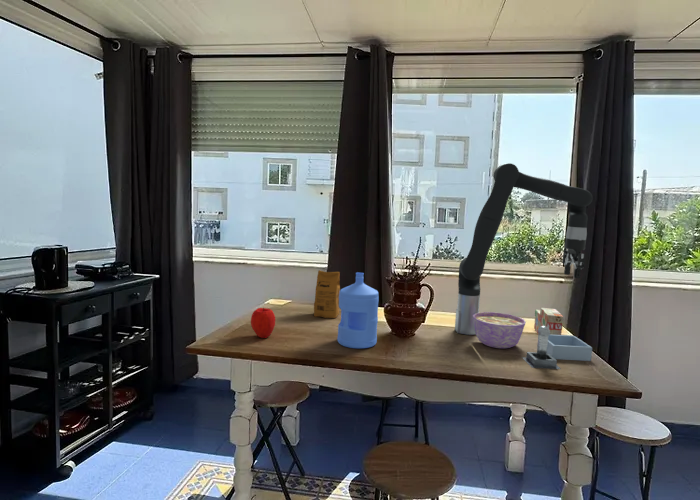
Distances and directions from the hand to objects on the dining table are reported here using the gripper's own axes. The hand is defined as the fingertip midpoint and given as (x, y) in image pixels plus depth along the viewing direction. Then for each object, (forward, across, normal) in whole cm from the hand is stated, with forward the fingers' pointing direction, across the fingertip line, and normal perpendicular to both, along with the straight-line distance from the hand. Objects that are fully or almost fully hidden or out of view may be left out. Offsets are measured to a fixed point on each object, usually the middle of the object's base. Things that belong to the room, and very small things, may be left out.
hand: (571, 276), depth 182 cm
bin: (+28, +20, -10) cm, 36 cm away
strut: (+27, +32, -23) cm, 48 cm away
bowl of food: (+28, +13, -33) cm, 45 cm away
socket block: (+28, +32, -23) cm, 49 cm away
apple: (+30, +14, -127) cm, 131 cm away
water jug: (+29, +16, -89) cm, 95 cm away
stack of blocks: (+28, -5, -6) cm, 29 cm away
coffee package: (+29, -22, -104) cm, 111 cm away
